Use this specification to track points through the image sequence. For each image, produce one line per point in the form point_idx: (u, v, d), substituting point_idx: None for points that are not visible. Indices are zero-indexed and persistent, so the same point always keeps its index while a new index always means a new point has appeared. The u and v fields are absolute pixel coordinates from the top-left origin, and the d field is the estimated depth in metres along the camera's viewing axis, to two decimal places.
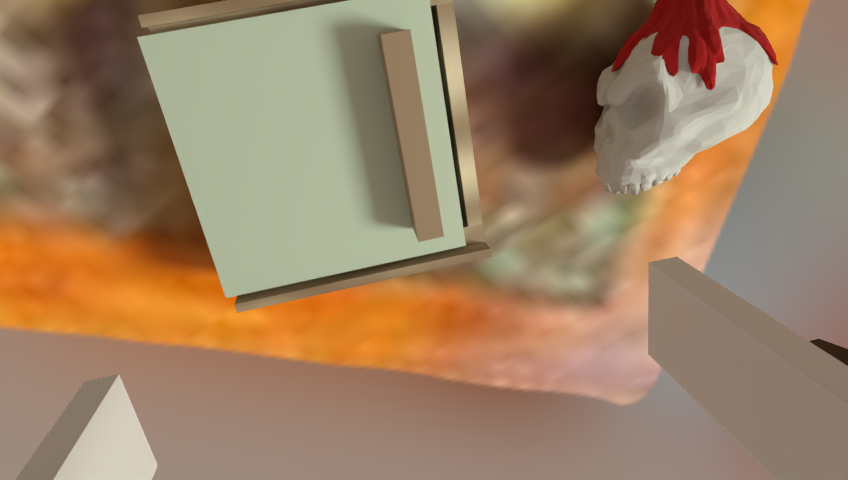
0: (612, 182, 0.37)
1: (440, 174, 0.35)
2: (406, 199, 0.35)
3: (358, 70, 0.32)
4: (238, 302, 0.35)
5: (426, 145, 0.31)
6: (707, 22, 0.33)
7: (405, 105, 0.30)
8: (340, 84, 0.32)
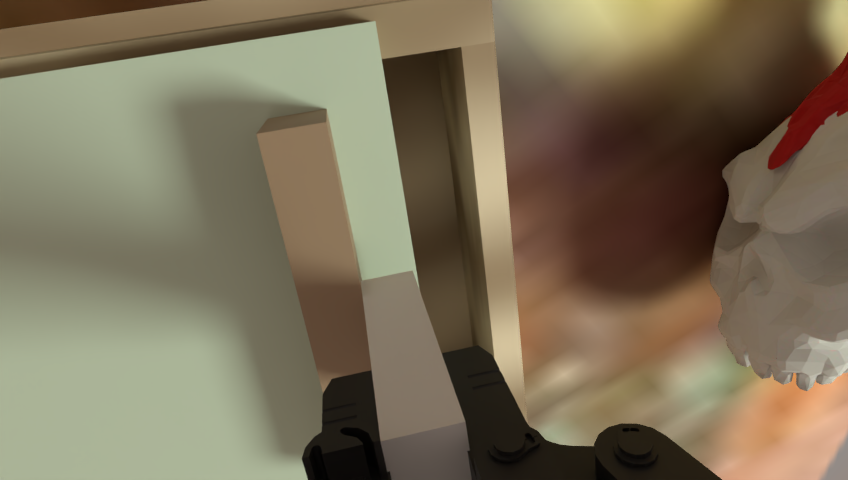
0: (760, 362, 0.21)
1: None
2: None
3: (231, 190, 0.15)
4: None
5: (368, 353, 0.15)
6: None
7: (319, 279, 0.14)
8: (194, 217, 0.15)
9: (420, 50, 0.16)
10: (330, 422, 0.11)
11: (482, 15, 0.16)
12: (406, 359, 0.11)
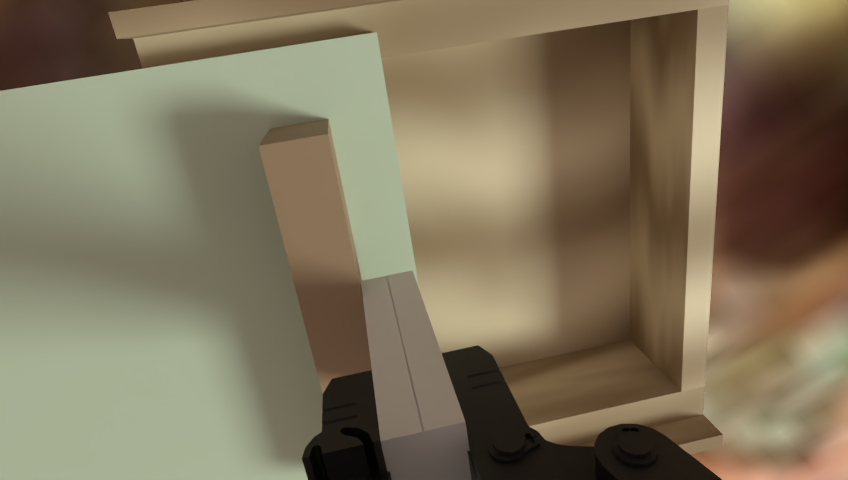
0: None
1: None
2: None
3: (233, 199, 0.15)
4: None
5: (369, 361, 0.15)
6: None
7: (320, 288, 0.14)
8: (198, 226, 0.16)
9: (660, 12, 0.16)
10: (330, 422, 0.11)
11: None
12: (406, 359, 0.11)
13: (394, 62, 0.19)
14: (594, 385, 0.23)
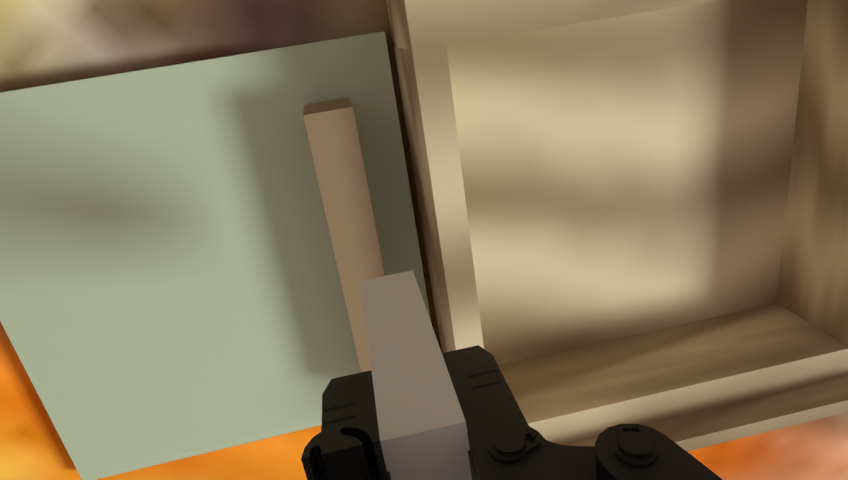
0: None
1: None
2: None
3: (275, 159, 0.20)
4: None
5: None
6: None
7: (346, 222, 0.19)
8: (248, 180, 0.20)
9: None
10: (330, 422, 0.11)
11: None
12: (406, 359, 0.11)
13: (588, 28, 0.20)
14: (757, 344, 0.23)
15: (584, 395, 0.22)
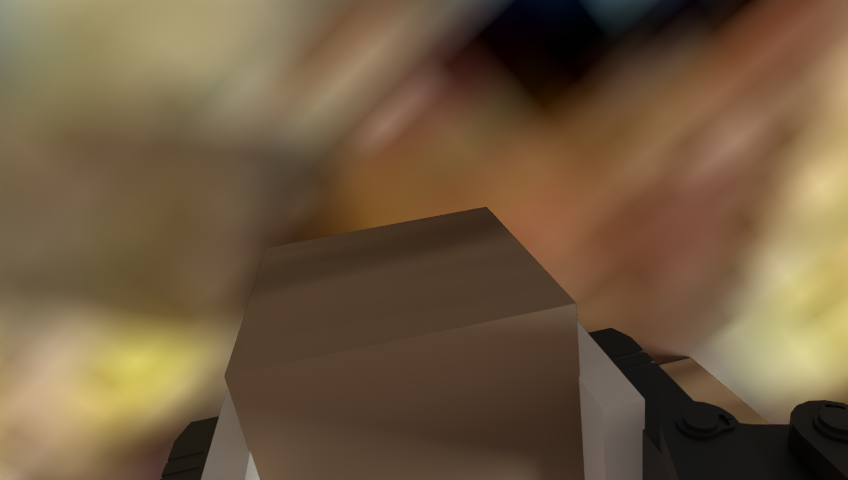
0: None
1: None
2: None
3: None
4: None
5: None
6: None
7: None
8: None
9: None
10: (170, 475, 0.10)
11: None
12: None
13: None
14: None
15: None
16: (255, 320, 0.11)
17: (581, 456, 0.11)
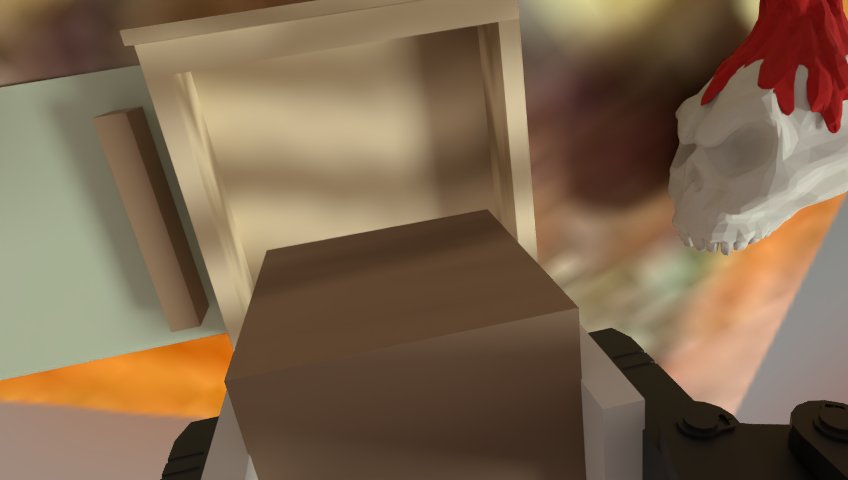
0: (697, 238, 0.31)
1: None
2: None
3: (94, 149, 0.29)
4: None
5: (164, 232, 0.29)
6: (831, 49, 0.27)
7: (132, 191, 0.28)
8: (76, 164, 0.29)
9: (473, 24, 0.25)
10: (170, 475, 0.10)
11: (511, 2, 0.25)
12: None
13: (312, 58, 0.28)
14: None
15: None
16: (255, 324, 0.11)
17: (583, 461, 0.11)
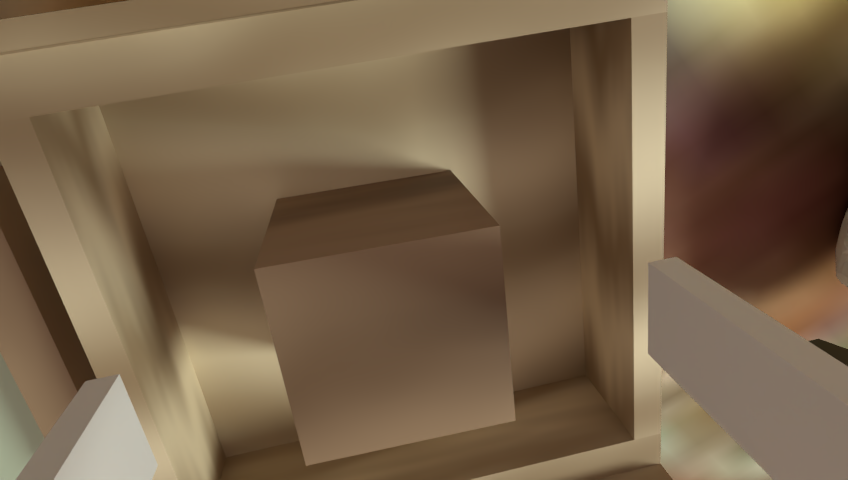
0: None
1: None
2: None
3: None
4: None
5: (59, 364, 0.18)
6: None
7: None
8: None
9: (587, 21, 0.14)
10: None
11: None
12: None
13: (301, 79, 0.17)
14: (540, 430, 0.21)
15: None
16: (272, 240, 0.15)
17: (507, 342, 0.15)
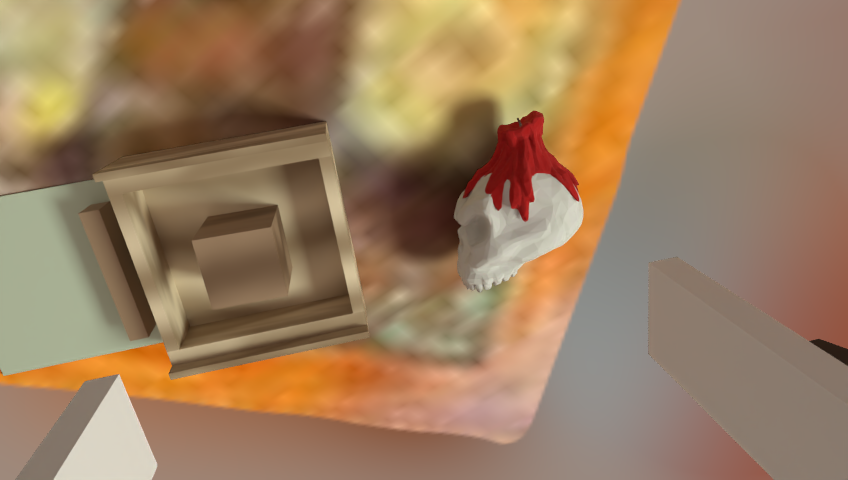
0: (464, 281, 0.48)
1: None
2: None
3: (80, 227, 0.47)
4: (171, 372, 0.46)
5: (124, 279, 0.46)
6: (523, 171, 0.44)
7: (103, 255, 0.45)
8: (69, 236, 0.47)
9: (303, 160, 0.43)
10: None
11: (325, 147, 0.43)
12: None
13: None
14: (320, 312, 0.49)
15: (228, 334, 0.48)
16: (200, 232, 0.43)
17: (280, 266, 0.44)
